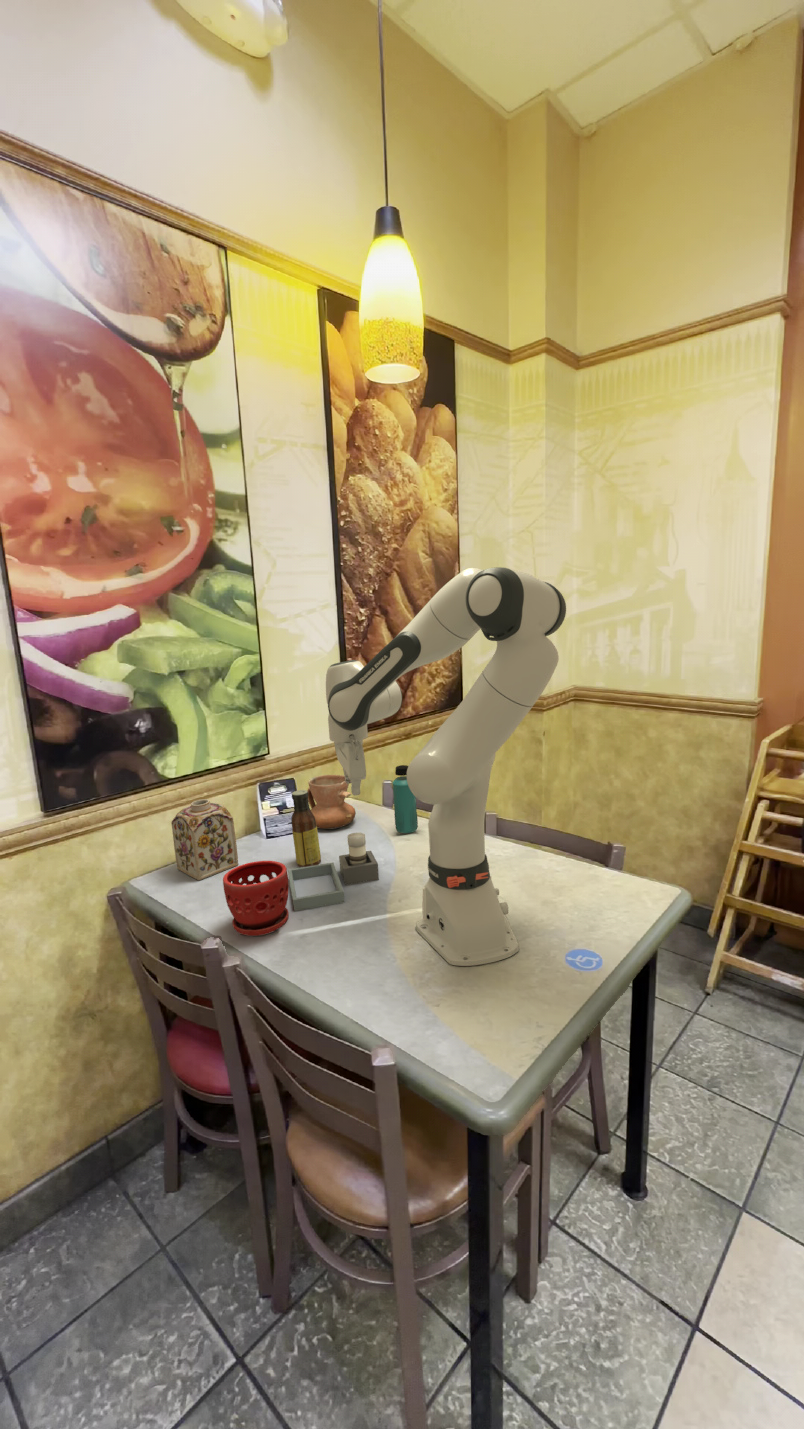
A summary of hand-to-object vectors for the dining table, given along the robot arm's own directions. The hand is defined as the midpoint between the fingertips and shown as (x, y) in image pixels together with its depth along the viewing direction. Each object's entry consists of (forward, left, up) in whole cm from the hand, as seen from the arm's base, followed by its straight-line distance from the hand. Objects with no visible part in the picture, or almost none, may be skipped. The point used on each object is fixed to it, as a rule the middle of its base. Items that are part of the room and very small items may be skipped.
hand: (352, 788), depth 142 cm
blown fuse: (0, 0, -22) cm, 22 cm away
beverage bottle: (+23, -18, -23) cm, 37 cm away
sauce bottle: (+12, +11, -23) cm, 28 cm away
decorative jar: (+21, +36, -23) cm, 48 cm away
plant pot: (-13, +24, -23) cm, 36 cm away
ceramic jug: (+40, +1, -23) cm, 46 cm away
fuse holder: (0, 0, -23) cm, 23 cm away
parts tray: (-4, +11, -23) cm, 26 cm away
